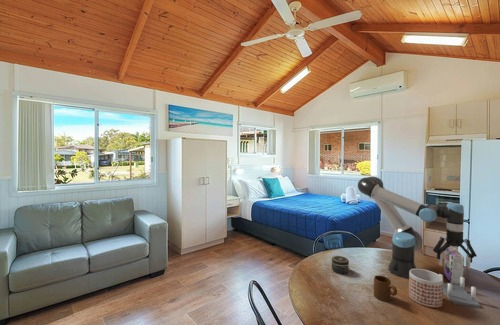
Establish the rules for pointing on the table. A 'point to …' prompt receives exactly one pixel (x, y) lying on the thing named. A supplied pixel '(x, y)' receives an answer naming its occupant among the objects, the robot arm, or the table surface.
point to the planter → (426, 288)
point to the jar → (340, 264)
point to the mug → (383, 288)
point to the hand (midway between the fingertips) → (453, 266)
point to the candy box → (453, 265)
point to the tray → (460, 293)
